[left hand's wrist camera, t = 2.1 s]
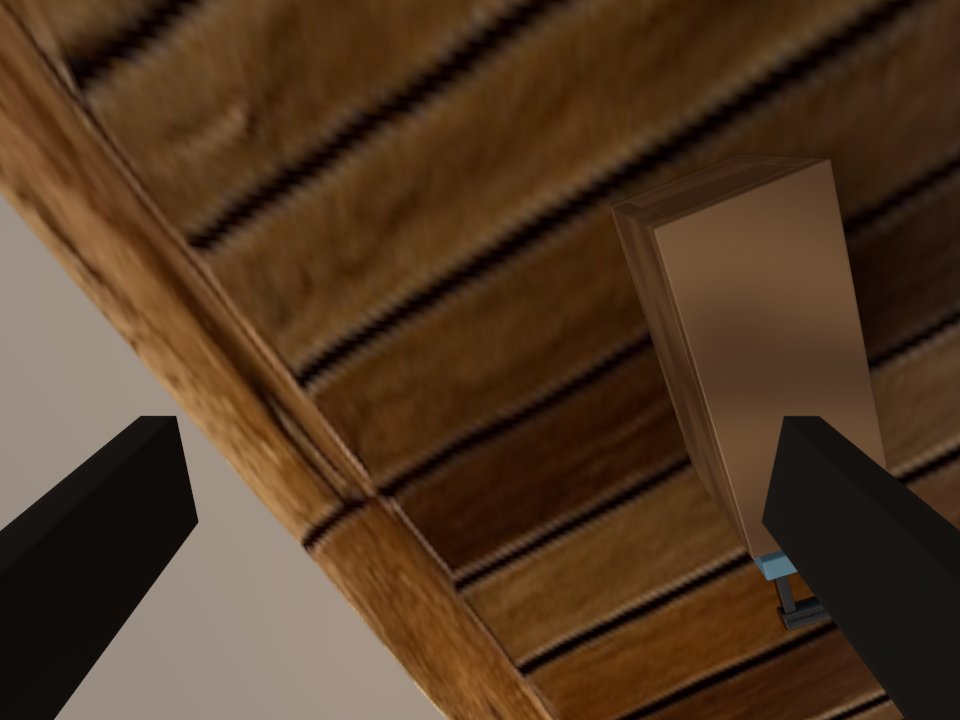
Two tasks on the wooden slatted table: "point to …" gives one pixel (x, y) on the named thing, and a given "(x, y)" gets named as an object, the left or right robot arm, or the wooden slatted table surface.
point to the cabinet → (750, 318)
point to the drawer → (790, 593)
